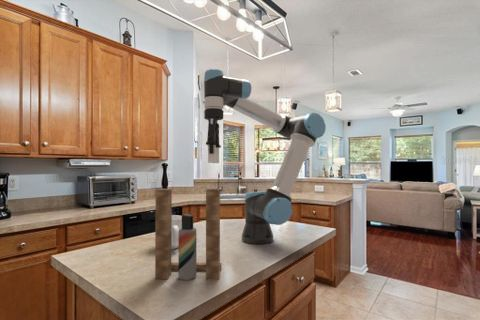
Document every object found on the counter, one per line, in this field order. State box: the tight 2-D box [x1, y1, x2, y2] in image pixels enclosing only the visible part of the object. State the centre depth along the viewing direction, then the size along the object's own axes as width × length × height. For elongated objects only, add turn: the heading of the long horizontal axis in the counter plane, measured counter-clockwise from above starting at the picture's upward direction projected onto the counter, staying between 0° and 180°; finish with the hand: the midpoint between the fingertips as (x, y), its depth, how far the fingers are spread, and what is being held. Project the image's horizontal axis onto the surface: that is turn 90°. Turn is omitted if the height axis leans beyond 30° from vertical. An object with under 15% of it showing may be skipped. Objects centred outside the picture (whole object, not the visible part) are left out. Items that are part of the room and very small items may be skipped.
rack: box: [154, 188, 222, 281], centre depth 88 cm, size 20×9×28 cm, turn 89°
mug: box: [172, 214, 183, 250], centre depth 115 cm, size 15×11×13 cm
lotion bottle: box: [177, 213, 197, 281], centre depth 86 cm, size 6×6×20 cm
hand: (213, 163), depth 105 cm, fingers open, 13 cm apart
